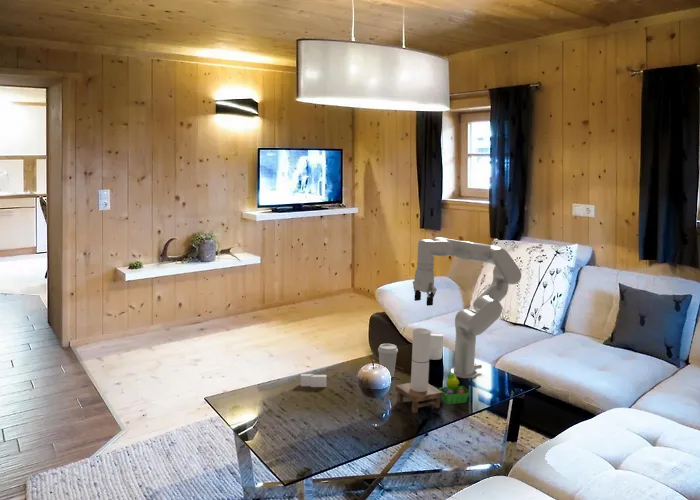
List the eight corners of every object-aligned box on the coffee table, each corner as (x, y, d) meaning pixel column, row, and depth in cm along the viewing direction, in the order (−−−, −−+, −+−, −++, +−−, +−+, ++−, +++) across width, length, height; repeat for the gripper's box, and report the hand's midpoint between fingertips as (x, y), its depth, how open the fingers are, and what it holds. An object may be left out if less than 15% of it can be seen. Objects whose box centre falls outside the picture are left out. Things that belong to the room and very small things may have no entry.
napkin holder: (333, 386, 258) (333, 374, 257) (318, 394, 249) (318, 381, 248) (307, 378, 266) (307, 366, 266) (291, 386, 257) (291, 374, 256)
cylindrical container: (412, 391, 235) (415, 333, 231) (409, 385, 242) (411, 328, 238) (429, 391, 236) (432, 333, 232) (425, 385, 243) (428, 328, 239)
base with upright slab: (424, 358, 296) (425, 336, 294) (425, 353, 304) (426, 331, 302) (442, 360, 294) (443, 338, 292) (442, 354, 303) (443, 332, 301)
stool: (422, 395, 249) (423, 380, 248) (441, 408, 237) (442, 392, 236) (395, 400, 243) (395, 385, 242) (413, 414, 231) (414, 397, 230)
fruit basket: (445, 406, 239) (447, 380, 237) (436, 397, 248) (438, 372, 246) (470, 403, 242) (471, 378, 240) (460, 395, 251) (462, 371, 249)
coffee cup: (397, 373, 274) (398, 343, 272) (396, 381, 265) (398, 350, 262) (377, 372, 275) (378, 342, 273) (376, 379, 266) (377, 348, 263)
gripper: (408, 263, 268) (406, 299, 270) (429, 270, 252) (427, 308, 255) (421, 262, 271) (419, 297, 274) (443, 269, 256) (441, 306, 259)
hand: (423, 302), depth 264 cm, fingers open, 9 cm apart
